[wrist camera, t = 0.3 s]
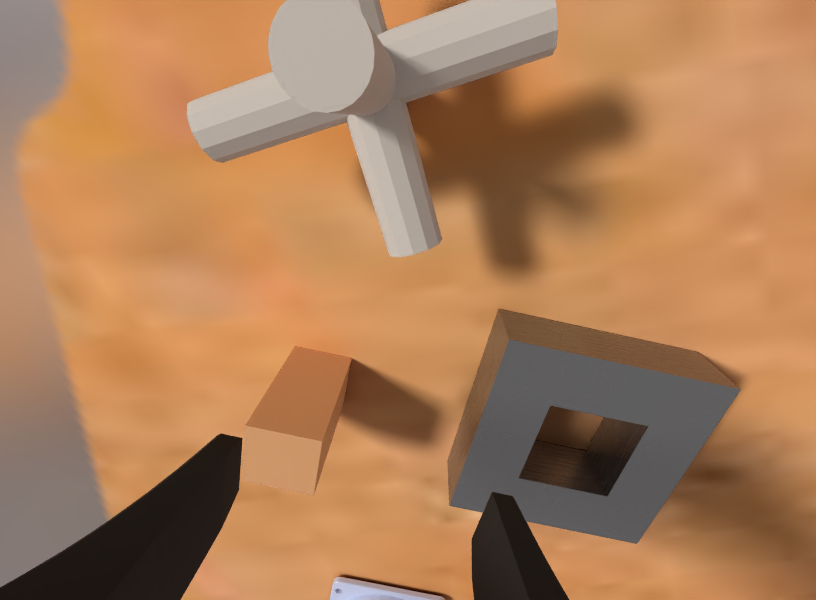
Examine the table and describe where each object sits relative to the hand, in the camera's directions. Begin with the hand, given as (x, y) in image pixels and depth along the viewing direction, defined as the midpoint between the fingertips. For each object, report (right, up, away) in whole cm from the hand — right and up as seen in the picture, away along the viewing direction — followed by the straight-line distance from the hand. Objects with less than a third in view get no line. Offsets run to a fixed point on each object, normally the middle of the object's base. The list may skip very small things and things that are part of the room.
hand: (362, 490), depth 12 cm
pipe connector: (0, +14, +5) cm, 14 cm away
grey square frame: (+10, -1, +10) cm, 14 cm away
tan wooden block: (-3, +1, +10) cm, 11 cm away
